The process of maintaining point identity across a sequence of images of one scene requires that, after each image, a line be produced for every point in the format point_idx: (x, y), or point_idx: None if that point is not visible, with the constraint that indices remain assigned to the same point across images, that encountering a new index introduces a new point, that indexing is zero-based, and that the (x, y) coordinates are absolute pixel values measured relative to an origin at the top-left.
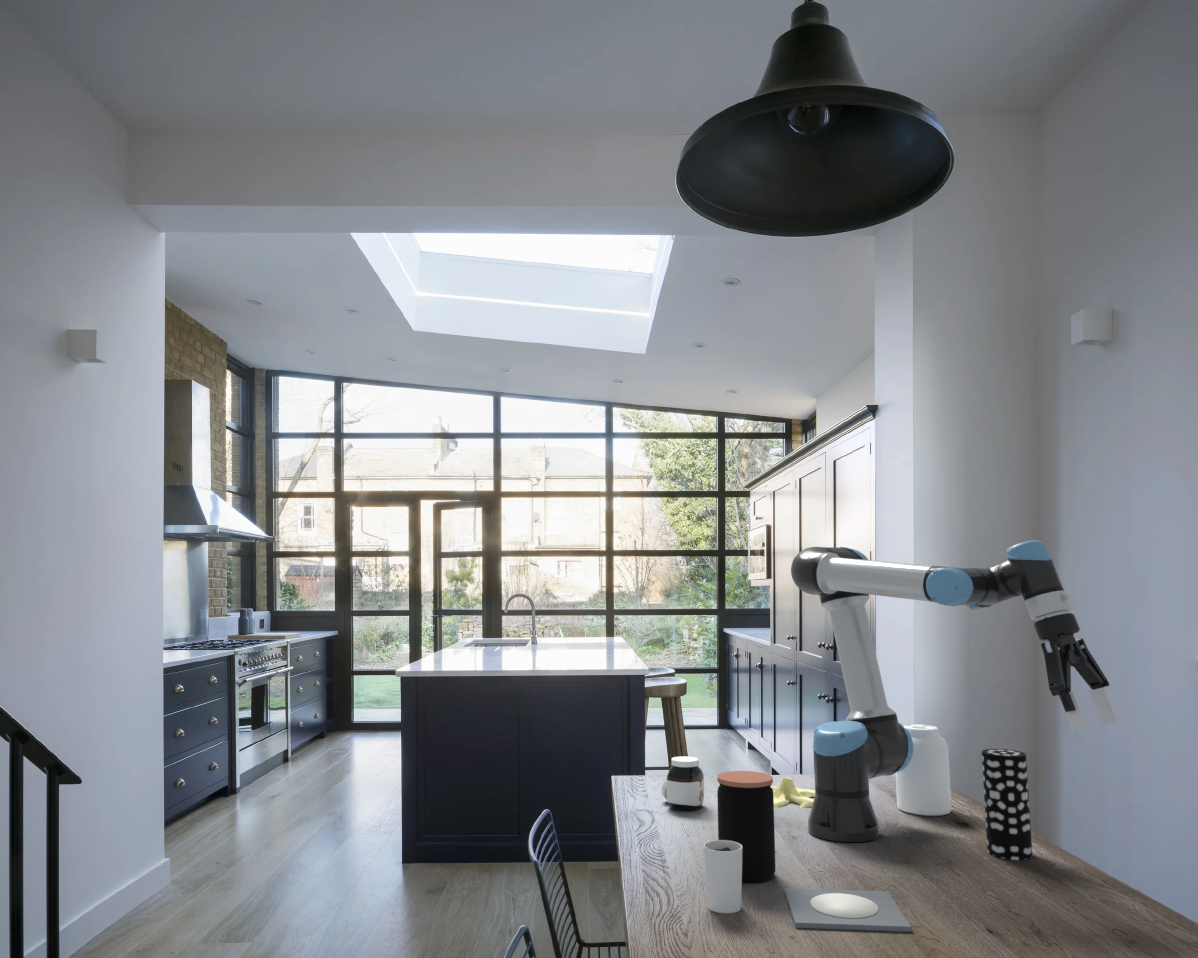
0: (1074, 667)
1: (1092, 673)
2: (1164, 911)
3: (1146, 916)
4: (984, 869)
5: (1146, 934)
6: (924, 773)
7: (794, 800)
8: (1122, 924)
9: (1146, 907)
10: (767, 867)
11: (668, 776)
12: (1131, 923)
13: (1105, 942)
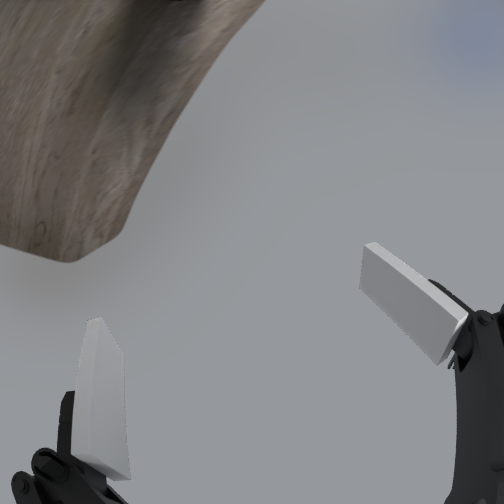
0: (489, 459)
1: (459, 423)
2: (130, 208)
3: (98, 211)
4: (64, 11)
5: (60, 239)
6: None
7: None
8: (57, 217)
9: (123, 194)
10: None
11: None
12: (68, 218)
13: (15, 239)
